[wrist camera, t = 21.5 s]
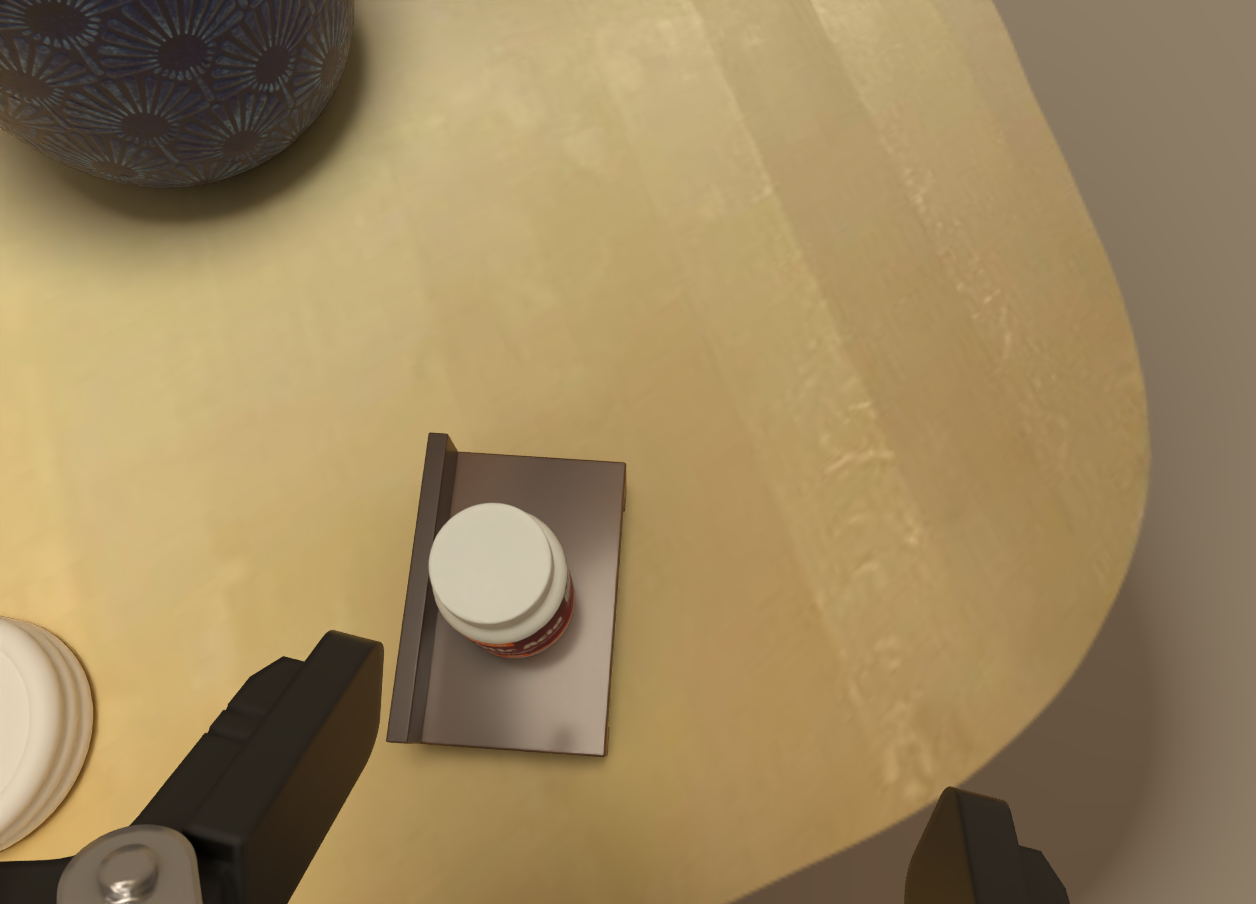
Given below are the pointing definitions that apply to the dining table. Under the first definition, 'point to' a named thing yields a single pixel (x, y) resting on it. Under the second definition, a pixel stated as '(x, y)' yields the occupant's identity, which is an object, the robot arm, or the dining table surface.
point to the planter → (168, 82)
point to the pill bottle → (502, 580)
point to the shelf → (497, 686)
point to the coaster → (38, 726)
